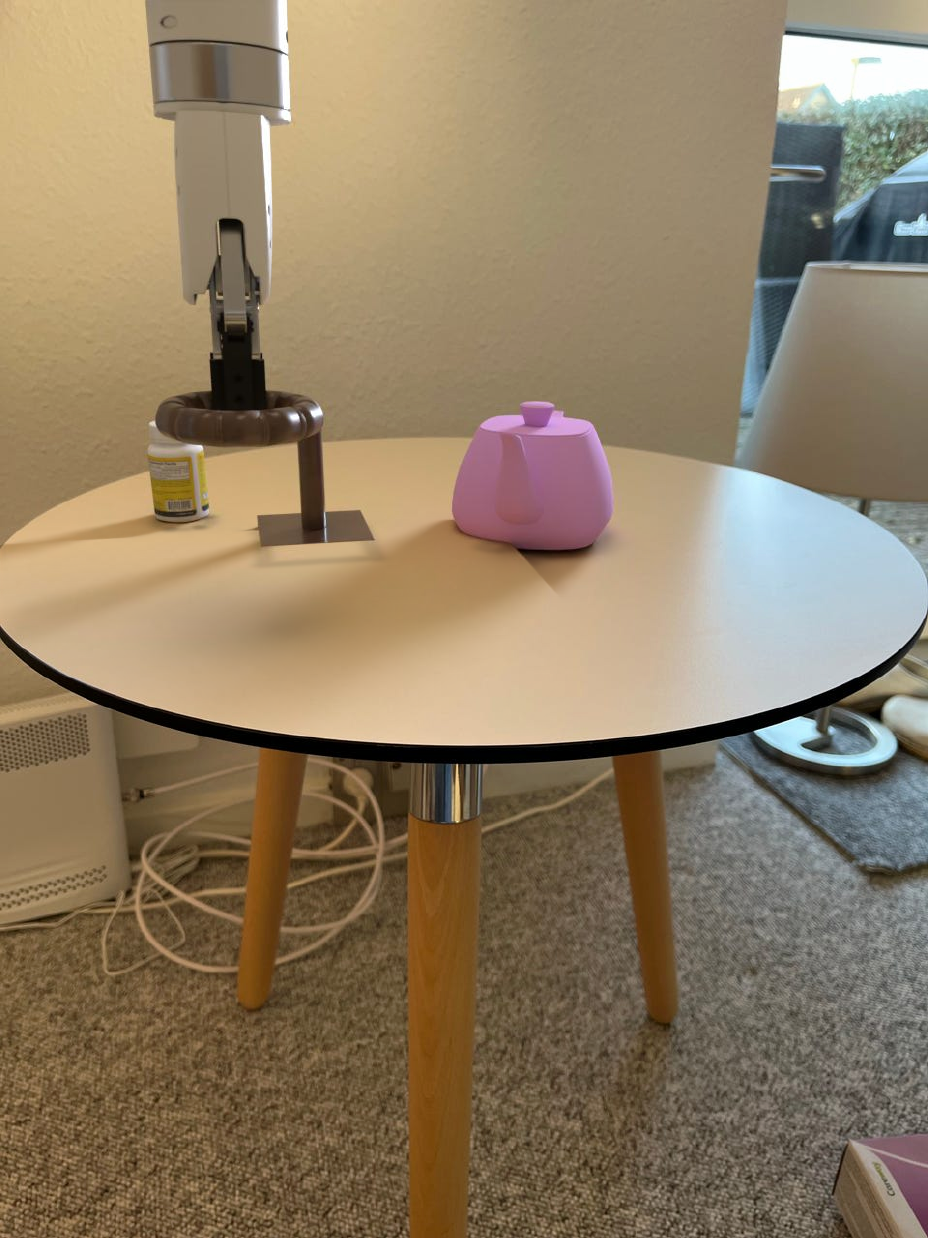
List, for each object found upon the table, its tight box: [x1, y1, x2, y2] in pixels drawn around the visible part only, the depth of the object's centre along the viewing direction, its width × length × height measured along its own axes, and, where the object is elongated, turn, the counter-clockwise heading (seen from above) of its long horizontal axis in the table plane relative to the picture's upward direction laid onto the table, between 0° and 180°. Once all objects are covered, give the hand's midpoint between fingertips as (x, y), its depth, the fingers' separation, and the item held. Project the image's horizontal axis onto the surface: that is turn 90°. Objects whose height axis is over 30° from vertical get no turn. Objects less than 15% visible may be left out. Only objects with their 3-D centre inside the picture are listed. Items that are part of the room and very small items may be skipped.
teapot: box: [451, 400, 614, 551], centre depth 81 cm, size 13×20×11 cm
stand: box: [256, 427, 376, 548], centre depth 80 cm, size 9×9×10 cm
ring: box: [154, 389, 325, 449], centre depth 58 cm, size 10×10×2 cm
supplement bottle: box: [146, 420, 210, 523], centre depth 86 cm, size 5×5×8 cm
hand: (240, 418), depth 62 cm, fingers closed on ring, 2 cm apart
